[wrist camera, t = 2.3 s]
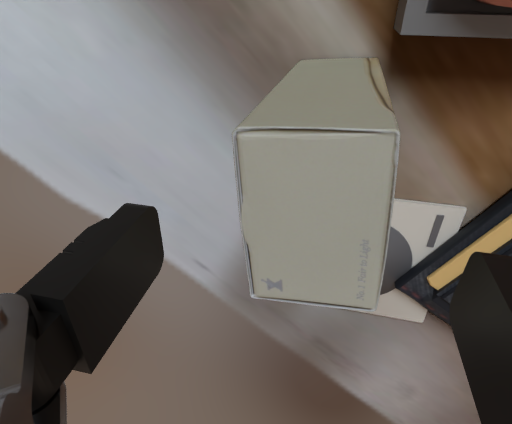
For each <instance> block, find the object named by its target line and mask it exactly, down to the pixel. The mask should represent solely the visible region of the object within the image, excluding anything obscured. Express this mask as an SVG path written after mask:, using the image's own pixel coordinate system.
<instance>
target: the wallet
mask: <svg viewBox="0 0 512 424" xmlns="http://www.w3.org/2000/svg"><path fill="white" fill-rule="evenodd" d="M474 252H484V253H491V254H499V255H506V256H512V191H510V192H509V193H508V194H507V195H505V196H504V197H503V198H501V199H500V200H499V201H498V202H496V203H495V204H494V205H492V206H491V207H490V208H489V209H487V210H486V211H485V212H483V213H482V214H481V215H480V216H478V217H477V218H476V219H475V220H473V221H472V222H471V223H469V224H468V225H467V226H466V227H464V228H463V229H462V230H460V231H459V232H458V233H457V234H455V235H454V236H453V237H451V238H450V239H449V240H448V241H446V242H445V243H444V244H443V245H441V246H440V247H439V248H437V249H436V250H435V251H434V252H432V253H431V254H430V255H428V256H427V257H426V258H425V259H423V260H422V261H421V262H419V263H418V264H417V265H416V266H414V267H413V268H412V269H410V270H409V271H408V272H407V273H405V274H404V275H403V276H401V277H400V278H399V279H398V280H396V281H395V282H394V283H395V288H396V289H398V290H400V291H401V292H403V293H404V294H406V295H408V296H409V297H411V298H412V299H414V300H415V301H416V302H418V303H419V304H420V305H422V306H423V307H424V308H425V309H427V310H428V311H429V312H431V313H432V314H434V315H435V316H437V317H438V318H440V319H441V320H443V321H444V322H446V323H447V324H449V325H450V326H451V323H450V317H449V309H450V302H451V299H452V296H453V294H454V292H455V289H456V287H457V285H458V282H459V280H460V278H461V276H462V273H463V271H464V269H465V266H466V264H467V262H468V260H469V258H470V256H471V255H472V254H473V253H474Z"/></svg>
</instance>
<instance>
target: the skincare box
mask: <svg viewBox="0 0 512 424" xmlns="http://www.w3.org/2000/svg"><path fill="white" fill-rule="evenodd" d="M232 142H233V154H234V165H235V175H236V185H237V196H238V206H239V217H240V225H241V232H242V239H243V248H244V254H245V261H246V269H247V276H248V283H249V291H250V296H251V298H254V299H266V300H272V301H279V302H287V303H295V304H304V305H312V306H320V307H327V308H339V309H347V310H356V311H366V312H374V311H376V309H377V306H378V302H379V297H380V292H381V287H382V281H383V275H384V270H385V263H386V257H387V250H388V243H389V235H390V228H391V220H392V212H393V203H394V195H395V186H396V176H397V167H398V158H399V146H400V131H399V128H398V124H397V120H396V117H395V114H394V111H393V107H392V103H391V100H390V97H389V93H388V90H387V86H386V82H385V79H384V76H383V72H382V69H381V66H380V63H379V60H378V58H338V59H314V60H301V61H299V62H298V63H297V64H296V65H295V66H294V67H293V68H292V70H291V71H290V72H289V73H288V74H287V75H286V76H285V77H284V78H283V79H282V80H281V81H280V82H279V83H278V84H277V85H276V86H275V87H274V89H273V90H272V91H271V92H270V93H269V94H268V95H267V96H266V97H265V98H264V99H263V100H262V101H261V102H260V103H259V104H258V106H257V107H256V108H255V109H254V110H253V111H252V112H251V113H250V114H249V115H248V116H247V117H246V118H245V119H244V120H243V121H242V122H241V123H240V124H239V125H238V126H237V127H236V128H235V130H234V131H233V133H232Z"/></svg>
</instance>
